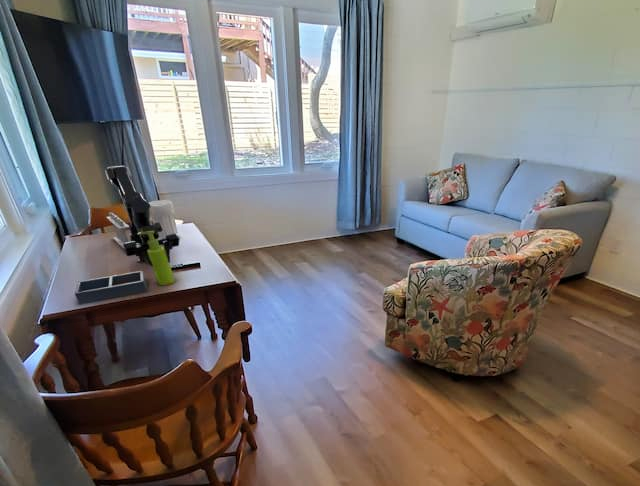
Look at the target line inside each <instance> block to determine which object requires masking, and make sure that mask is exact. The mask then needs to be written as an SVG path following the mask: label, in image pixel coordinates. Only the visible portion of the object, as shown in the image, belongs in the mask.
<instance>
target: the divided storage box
mask: <svg viewBox="0 0 640 486" xmlns="http://www.w3.org/2000/svg"><path fill="white" fill-rule="evenodd" d="M147 288H148V287H147V279H146V277H145V272H144V271H143V270H138V271H132V272H126V273H121V274H114V275H109V276H101V277H97V278H90V279H85V280H80V281H77V284H76V286H75V291H74V296H75V298H76V300H77V302H78V304H79V305H83V304H89V303H93V302H98V301H104V300H109V299H110V300H111V299H115V298H119V297H126V296H130V295H136V294H142V293H146V292H147V291H148V290H147Z"/></svg>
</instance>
